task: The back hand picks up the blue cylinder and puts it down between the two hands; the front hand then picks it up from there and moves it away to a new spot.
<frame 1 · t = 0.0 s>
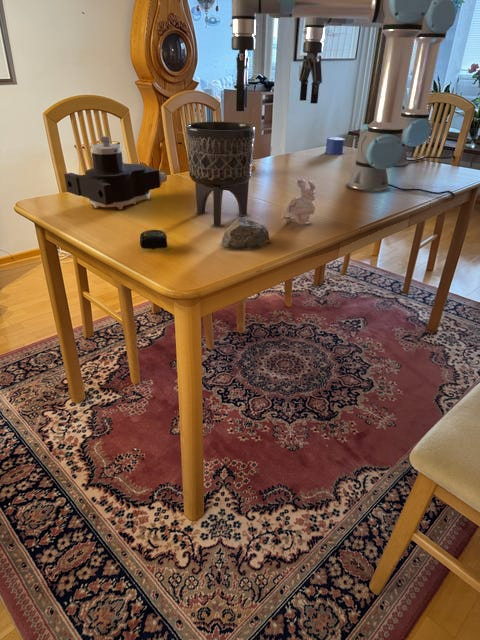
front hand: (241, 109, 155), 28 cm above the table, tool pointing down, fingers open, 13 cm apart
back hand: (308, 102, 186), 28 cm above the table, tool pointing down, fingers open, 13 cm apart
blue cylinder: (333, 153, 241), on the table
mechanical component: (126, 201, 155), on the table
toy: (243, 173, 196), on the table
figurine: (298, 222, 138), on the table
rock: (247, 244, 122), on the table
tape measure: (155, 248, 118), on the table
planter: (220, 217, 141), on the table
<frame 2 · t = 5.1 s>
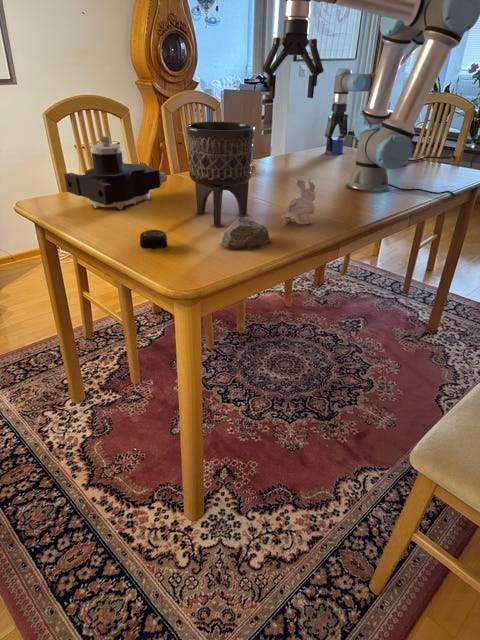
front hand: (291, 98, 146), 32 cm above the table, tool pointing down, fingers open, 13 cm apart
back hand: (334, 149, 241), 2 cm above the table, tool pointing down, fingers closed on blue cylinder, 9 cm apart
blue cylinder: (333, 153, 241), on the table, touching back hand
everything else where it was.
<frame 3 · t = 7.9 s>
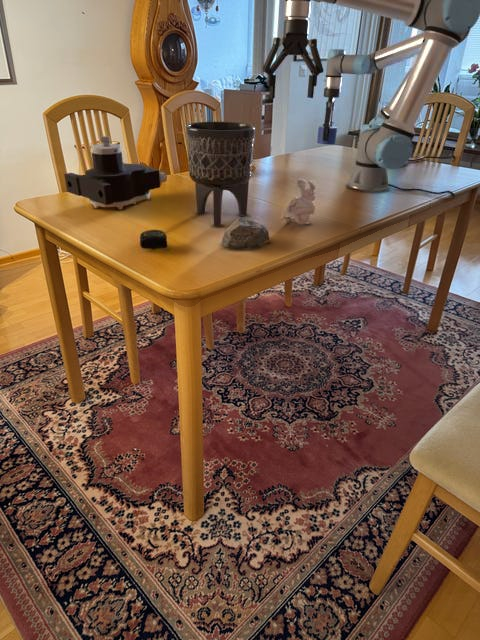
front hand: (291, 98, 146), 32 cm above the table, tool pointing down, fingers open, 13 cm apart
back hand: (326, 139, 222), 9 cm above the table, tool pointing down, fingers closed on blue cylinder, 9 cm apart
blue cylinder: (326, 142, 223), point 8 cm above the table, touching back hand
everything else where it was.
when the back hand's fingers open (4 cm above the table, at t = 10.6 s): blue cylinder drops 2 cm, on the table.
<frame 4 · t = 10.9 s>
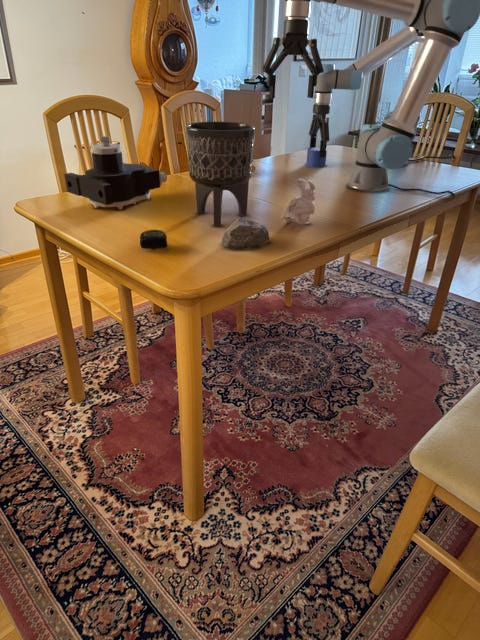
front hand: (291, 98, 146), 32 cm above the table, tool pointing down, fingers open, 13 cm apart
back hand: (316, 154, 211), 5 cm above the table, tool pointing down, fingers open, 13 cm apart
blue cylinder: (315, 165, 213), on the table
everything else where it was.
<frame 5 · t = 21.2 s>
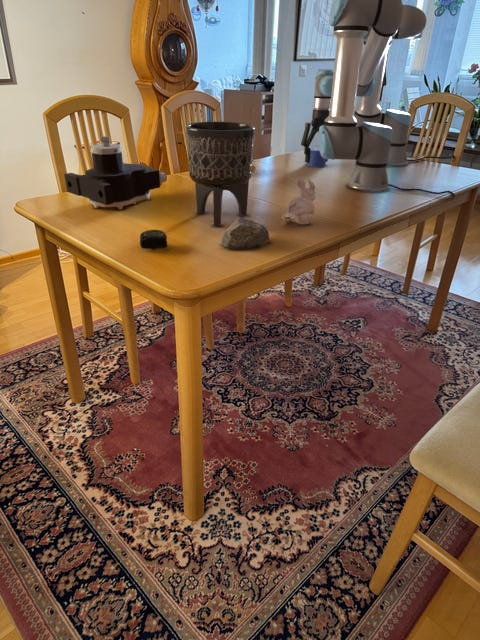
front hand: (316, 161, 212), 2 cm above the table, tool pointing down, fingers closed on blue cylinder, 9 cm apart
back hand: (372, 99, 240), 25 cm above the table, tool pointing down, fingers open, 13 cm apart
blue cylinder: (315, 165, 213), on the table, touching front hand
everything else where it was.
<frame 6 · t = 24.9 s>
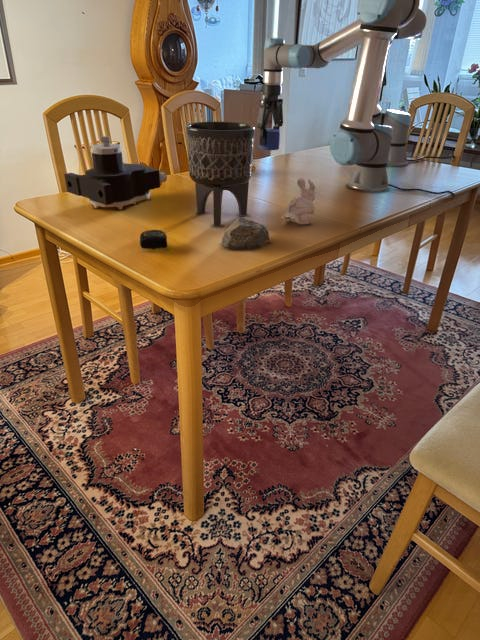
front hand: (269, 144, 191), 12 cm above the table, tool pointing down, fingers closed on blue cylinder, 9 cm apart
back hand: (372, 99, 240), 25 cm above the table, tool pointing down, fingers open, 13 cm apart
blue cylinder: (268, 148, 192), point 10 cm above the table, touching front hand
everything else where it was.
when the front hand's fingers open (4 cm above the table, at t = 29.0 s): blue cylinder drops 2 cm, on the table.
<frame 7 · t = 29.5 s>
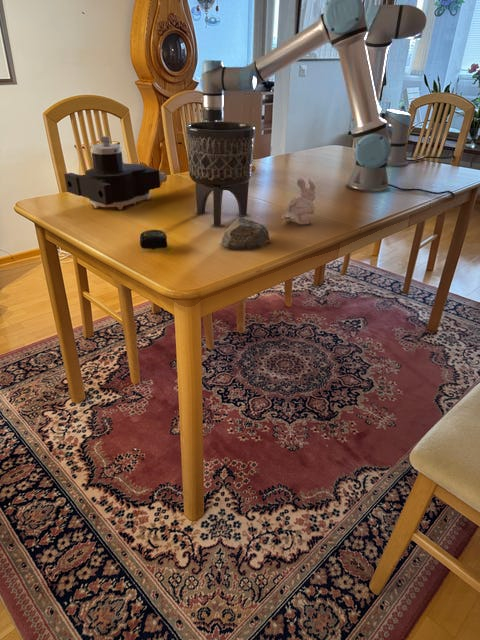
front hand: (213, 167, 178), 6 cm above the table, tool pointing down, fingers open, 13 cm apart
back hand: (372, 99, 240), 25 cm above the table, tool pointing down, fingers open, 13 cm apart
blue cylinder: (213, 182, 181), on the table
everything else where it was.
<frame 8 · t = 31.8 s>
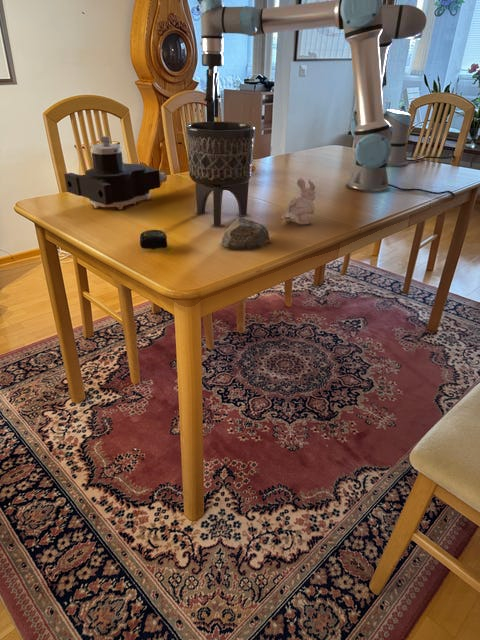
front hand: (212, 119, 169), 23 cm above the table, tool pointing down, fingers open, 13 cm apart
back hand: (372, 99, 240), 25 cm above the table, tool pointing down, fingers open, 13 cm apart
nothing on the table moved.
at the end: blue cylinder inside the target area (0.0 cm from its centre), on the table; blue cylinder tilted 0°; the two hands never held the blue cylinder at the same time; the front hand is holding nothing; the back hand is holding nothing; blue cylinder at rest at the end (0.0 cm/s) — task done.
